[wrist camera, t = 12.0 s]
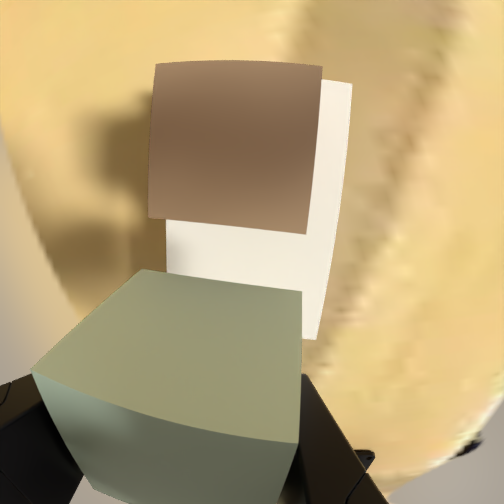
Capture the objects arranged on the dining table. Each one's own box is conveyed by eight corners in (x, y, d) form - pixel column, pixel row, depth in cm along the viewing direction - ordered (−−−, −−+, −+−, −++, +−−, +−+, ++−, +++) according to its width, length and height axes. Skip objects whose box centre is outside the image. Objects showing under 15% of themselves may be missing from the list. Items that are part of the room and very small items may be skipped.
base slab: (313, 308, 17) (315, 340, 14) (188, 291, 17) (168, 318, 15) (341, 95, 13) (352, 84, 10) (196, 86, 14) (173, 74, 11)
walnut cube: (303, 203, 12) (306, 234, 8) (197, 192, 12) (148, 217, 8) (313, 95, 11) (322, 66, 6) (204, 89, 11) (155, 63, 7)
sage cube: (280, 408, 9) (263, 535, 5) (154, 384, 9) (93, 488, 5) (301, 291, 8) (298, 443, 3) (141, 268, 8) (29, 369, 4)
